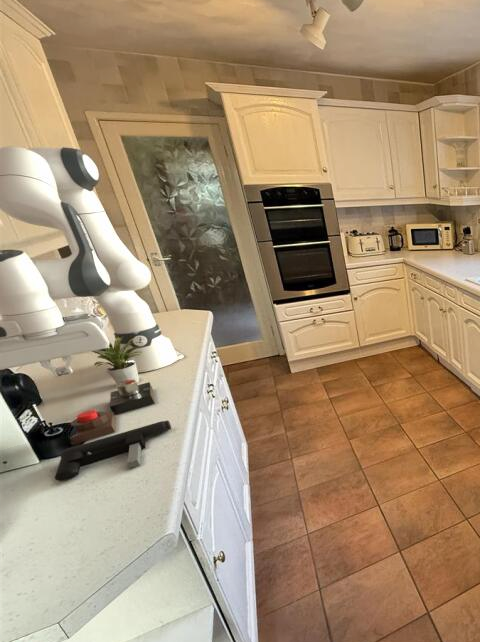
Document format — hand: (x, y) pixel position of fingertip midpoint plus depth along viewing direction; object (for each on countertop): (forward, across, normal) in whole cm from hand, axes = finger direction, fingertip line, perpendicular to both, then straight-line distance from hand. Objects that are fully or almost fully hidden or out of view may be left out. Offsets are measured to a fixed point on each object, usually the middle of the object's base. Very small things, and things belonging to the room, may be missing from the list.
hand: (64, 374), depth 98 cm
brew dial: (+14, -8, -13) cm, 21 cm away
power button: (+13, 0, 0) cm, 13 cm away
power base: (+17, 0, 0) cm, 17 cm away
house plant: (+17, -6, -31) cm, 36 cm away
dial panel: (+17, -8, -13) cm, 23 cm away
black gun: (+17, -5, +20) cm, 27 cm away
